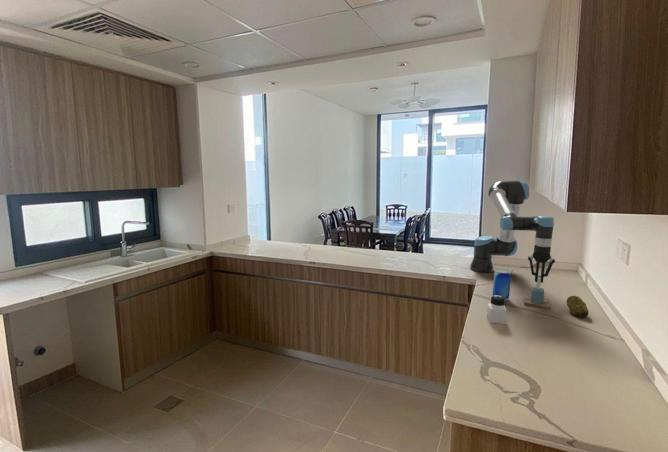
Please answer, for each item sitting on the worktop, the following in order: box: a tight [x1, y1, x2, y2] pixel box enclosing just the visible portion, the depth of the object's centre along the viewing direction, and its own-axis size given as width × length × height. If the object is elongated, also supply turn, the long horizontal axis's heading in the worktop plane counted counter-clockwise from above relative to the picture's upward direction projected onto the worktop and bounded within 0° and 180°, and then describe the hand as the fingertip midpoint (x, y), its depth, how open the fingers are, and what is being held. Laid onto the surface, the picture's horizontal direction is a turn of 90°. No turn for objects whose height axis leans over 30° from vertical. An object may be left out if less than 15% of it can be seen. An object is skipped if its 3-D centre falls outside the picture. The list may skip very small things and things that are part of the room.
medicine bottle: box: [486, 295, 508, 325], centre depth 171 cm, size 7×7×12 cm
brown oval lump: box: [566, 295, 590, 319], centre depth 179 cm, size 8×13×8 cm, turn 155°
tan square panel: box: [523, 295, 551, 310], centre depth 193 cm, size 12×12×6 cm
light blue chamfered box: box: [530, 286, 545, 304], centre depth 193 cm, size 6×6×7 cm
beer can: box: [492, 268, 512, 302], centre depth 198 cm, size 8×8×16 cm
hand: (538, 287), depth 192 cm, fingers closed
